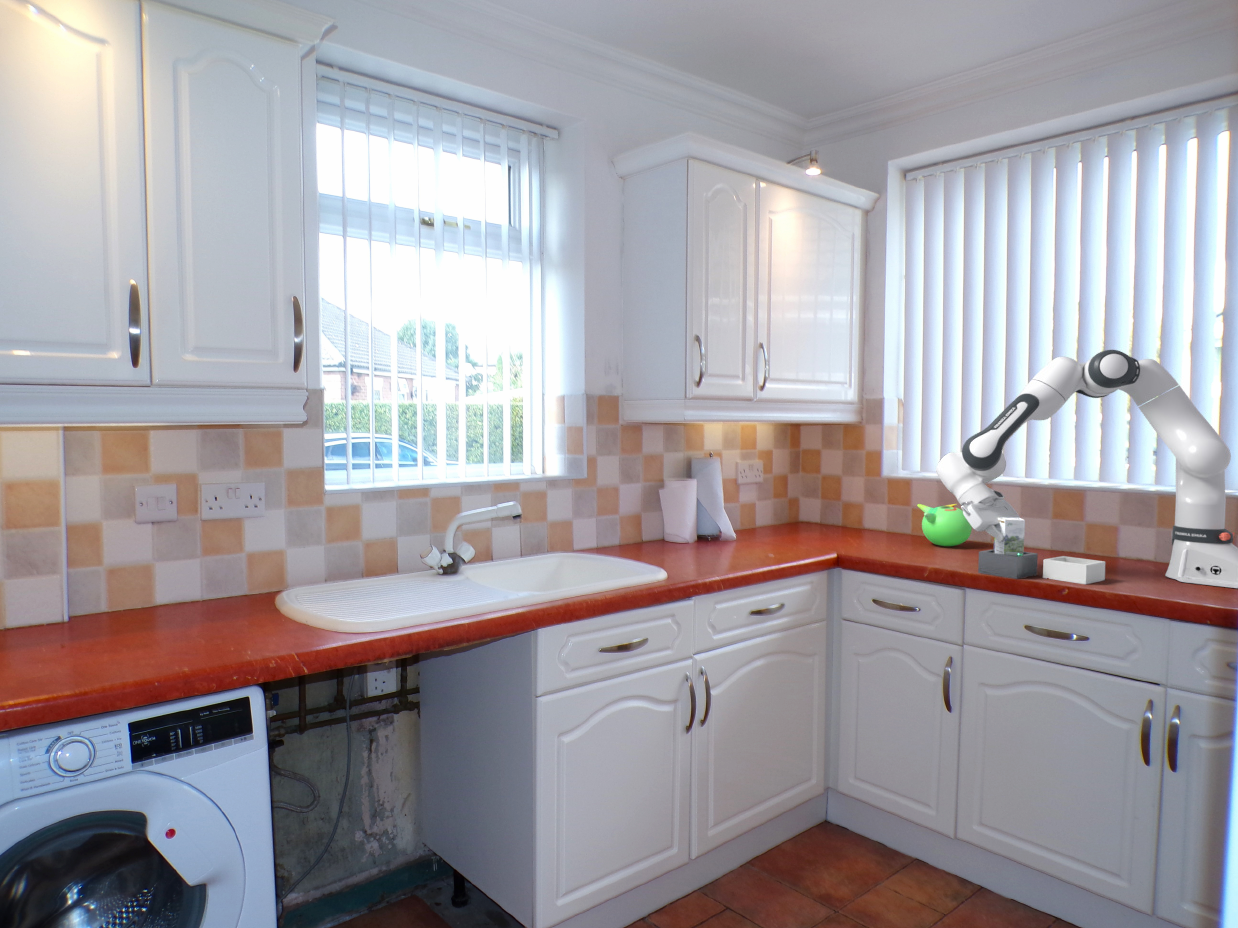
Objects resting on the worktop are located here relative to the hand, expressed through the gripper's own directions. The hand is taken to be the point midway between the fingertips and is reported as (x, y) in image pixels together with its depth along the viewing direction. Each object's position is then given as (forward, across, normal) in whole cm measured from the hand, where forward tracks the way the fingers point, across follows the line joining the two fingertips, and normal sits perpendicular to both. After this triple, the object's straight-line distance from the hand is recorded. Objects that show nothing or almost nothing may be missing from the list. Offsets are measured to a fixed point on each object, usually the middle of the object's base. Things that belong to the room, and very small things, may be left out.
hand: (1011, 539), depth 224 cm
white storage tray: (+16, +8, -2) cm, 18 cm away
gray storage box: (+6, 0, +7) cm, 10 cm away
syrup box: (+6, 0, +7) cm, 9 cm away
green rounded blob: (-22, +35, +37) cm, 55 cm away
